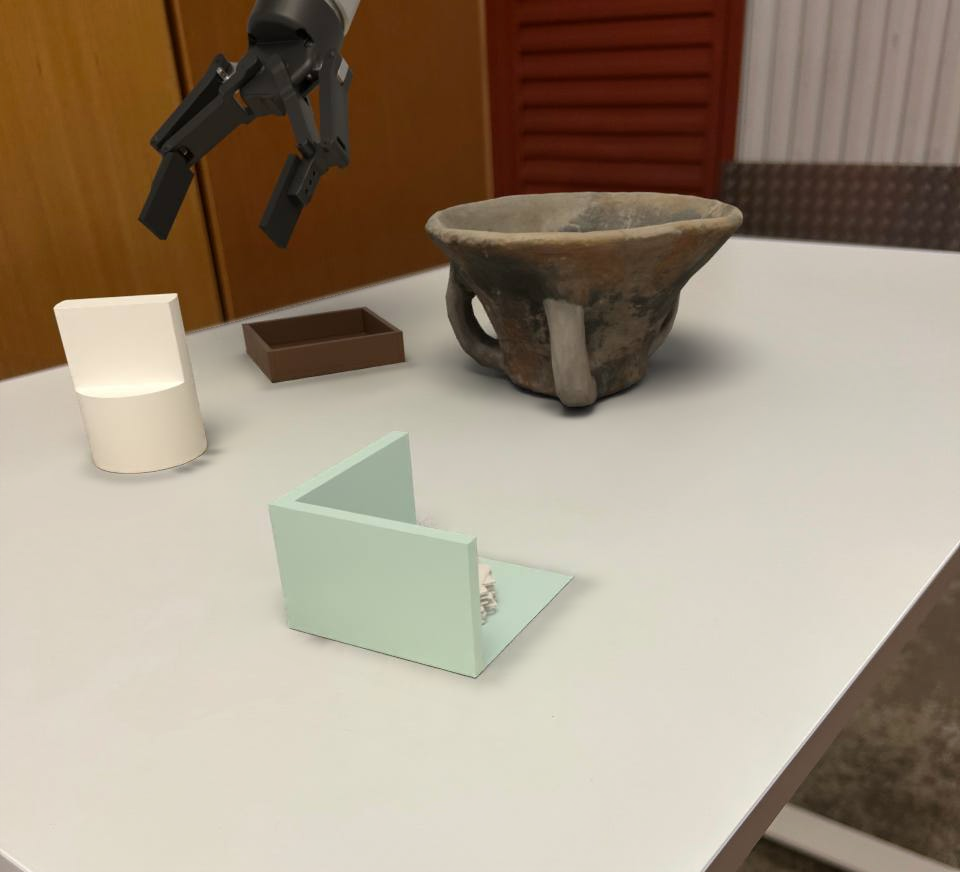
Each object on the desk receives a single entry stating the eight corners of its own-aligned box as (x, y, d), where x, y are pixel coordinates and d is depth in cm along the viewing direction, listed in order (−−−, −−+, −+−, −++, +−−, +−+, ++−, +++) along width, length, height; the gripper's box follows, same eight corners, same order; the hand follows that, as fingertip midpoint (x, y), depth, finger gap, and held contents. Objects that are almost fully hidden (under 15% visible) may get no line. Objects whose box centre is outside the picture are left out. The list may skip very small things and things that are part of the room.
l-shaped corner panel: (475, 677, 50) (467, 544, 46) (289, 627, 56) (267, 504, 52) (573, 576, 59) (573, 457, 55) (404, 541, 64) (393, 430, 60)
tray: (272, 382, 96) (267, 351, 95) (246, 352, 106) (241, 323, 105) (405, 361, 100) (402, 331, 99) (368, 333, 110) (365, 306, 109)
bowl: (635, 327, 107) (640, 175, 100) (789, 391, 86) (811, 206, 79) (400, 365, 99) (386, 203, 91) (508, 446, 78) (501, 245, 70)
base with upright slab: (215, 430, 85) (187, 284, 79) (196, 468, 77) (163, 311, 71) (109, 437, 85) (73, 291, 78) (80, 476, 77) (37, 319, 71)
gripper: (447, 42, 81) (354, 271, 78) (225, 54, 93) (137, 253, 90) (403, -38, 74) (300, 209, 71) (170, -15, 86) (74, 198, 83)
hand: (209, 234), depth 81 cm, fingers open, 13 cm apart
